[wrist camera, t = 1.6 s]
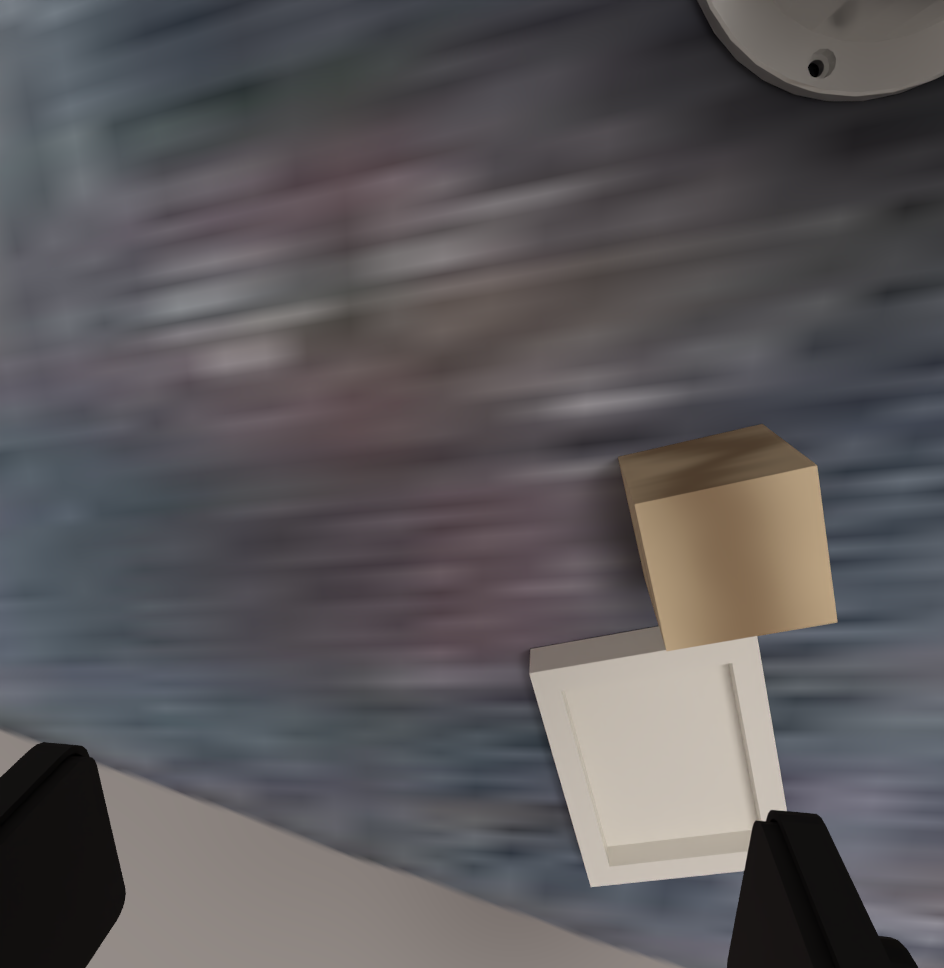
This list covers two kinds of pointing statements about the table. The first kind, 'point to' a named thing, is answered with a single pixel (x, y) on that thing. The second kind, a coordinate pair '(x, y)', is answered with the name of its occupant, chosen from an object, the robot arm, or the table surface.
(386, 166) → the table surface
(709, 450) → the oak cube
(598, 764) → the dish
